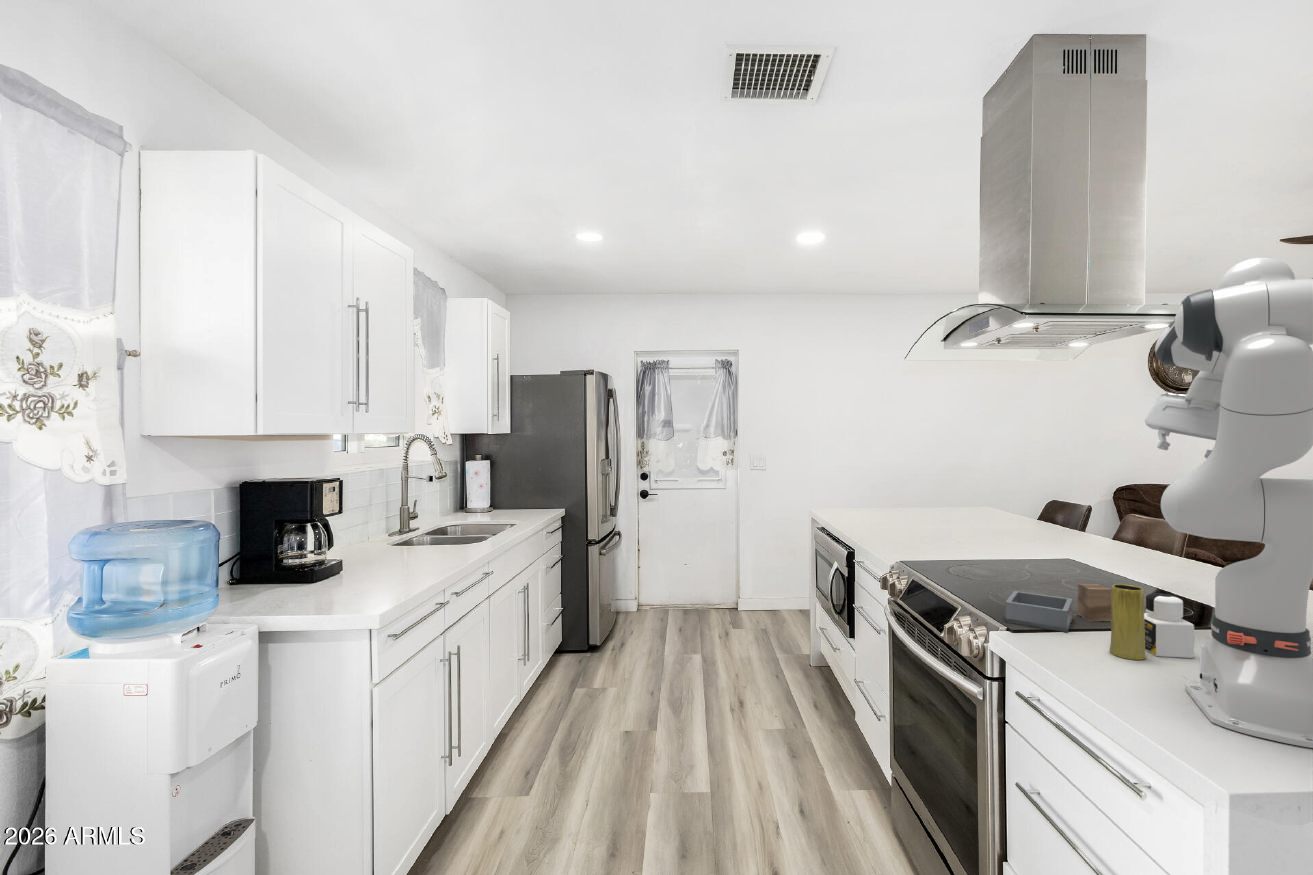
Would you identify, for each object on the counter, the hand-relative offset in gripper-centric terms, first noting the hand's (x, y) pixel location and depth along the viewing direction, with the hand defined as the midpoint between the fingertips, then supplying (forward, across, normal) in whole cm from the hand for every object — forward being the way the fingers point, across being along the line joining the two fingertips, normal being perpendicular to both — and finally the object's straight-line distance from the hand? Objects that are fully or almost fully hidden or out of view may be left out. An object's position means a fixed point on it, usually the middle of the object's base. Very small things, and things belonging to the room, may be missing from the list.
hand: (1185, 453), depth 139 cm
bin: (+49, -10, -5) cm, 51 cm away
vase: (+47, +12, -11) cm, 49 cm away
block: (+44, -6, +7) cm, 45 cm away
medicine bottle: (+43, +14, -3) cm, 45 cm away
